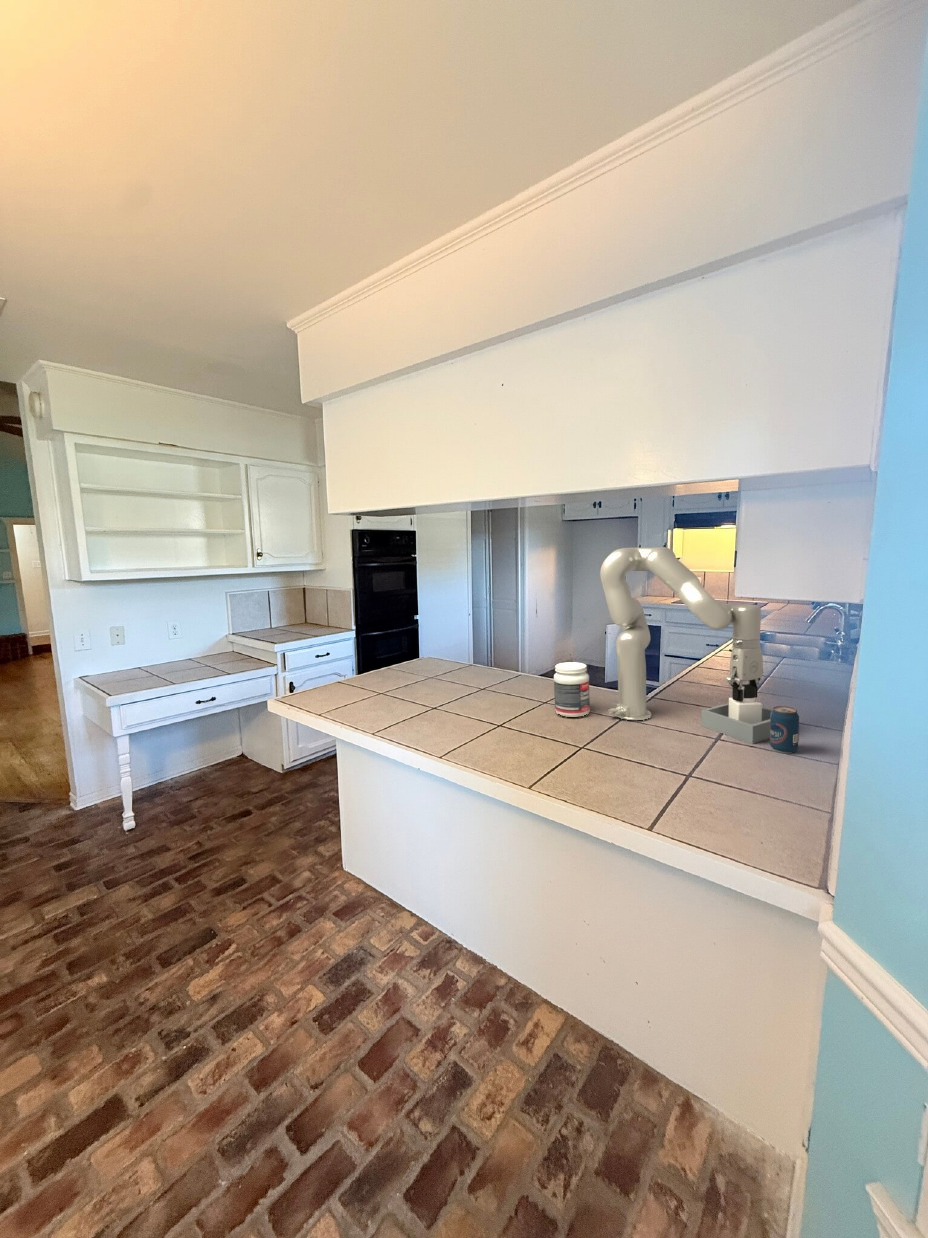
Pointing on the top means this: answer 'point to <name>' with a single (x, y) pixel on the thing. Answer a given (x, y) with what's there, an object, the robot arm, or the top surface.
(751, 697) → the medicine bottle
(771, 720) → the soda can
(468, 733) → the top surface
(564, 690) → the supplement tub
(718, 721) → the bin
